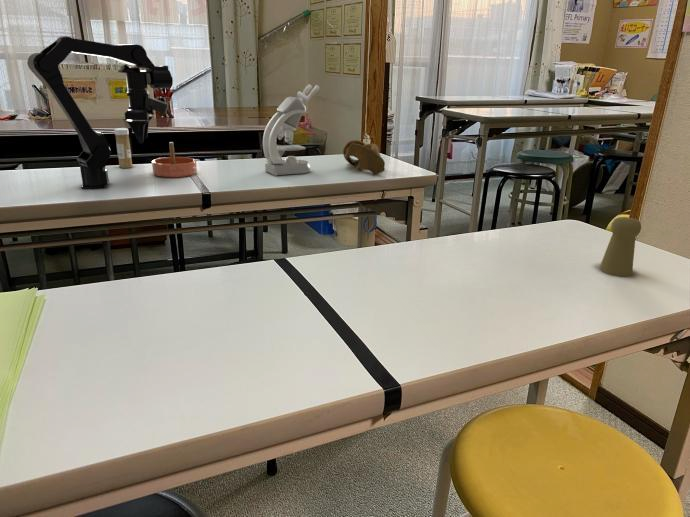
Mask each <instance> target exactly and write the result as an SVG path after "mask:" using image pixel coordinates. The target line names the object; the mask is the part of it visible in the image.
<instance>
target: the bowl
mask: <svg viewBox="0 0 690 517" xmlns="http://www.w3.org/2000/svg"><path fill="white" fill-rule="evenodd" d="M151 166H152V173H153V174H154V175H156V176H158V177H161V178H185V177H190V176H193V175H195V174H196V173H197V172H198V168H197V159H196V158H192V157H187V156H175V164H171V159H170V156H168V157H158V158H155V159H153V160H152V161H151Z"/></svg>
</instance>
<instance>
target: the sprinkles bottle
mask: <svg viewBox="0 0 690 517" xmlns="http://www.w3.org/2000/svg"><path fill="white" fill-rule="evenodd" d="M129 134H130V132H129V128H125V127H119V128H114V136H115V143H116V152H117V159H118V167H119V168H121V169H129V168H132V167H133V165H134V164H133V160H132V151H131V144H130V137H129Z"/></svg>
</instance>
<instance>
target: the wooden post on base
mask: <svg viewBox="0 0 690 517" xmlns="http://www.w3.org/2000/svg"><path fill="white" fill-rule="evenodd" d="M174 144H175V143H174V142H173V141H170V142H169V143H168V147H169V157H170V159H171V164H175V157H176V155H175V146H174Z"/></svg>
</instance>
